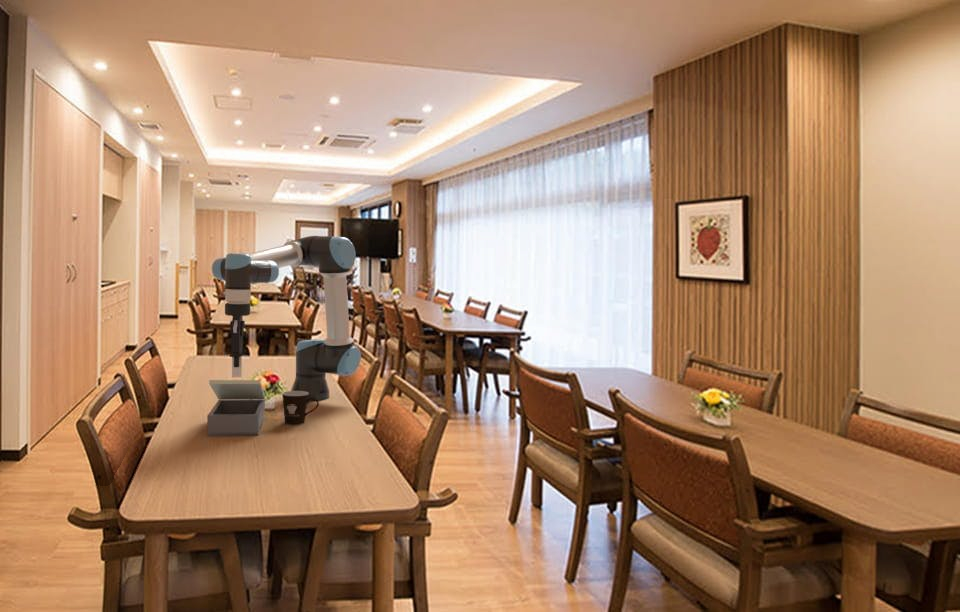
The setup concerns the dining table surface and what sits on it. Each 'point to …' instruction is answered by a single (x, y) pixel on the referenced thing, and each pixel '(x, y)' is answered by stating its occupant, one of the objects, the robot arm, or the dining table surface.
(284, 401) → the coffee mug
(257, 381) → the box lid
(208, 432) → the open storage box
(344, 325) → the robot arm
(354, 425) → the dining table surface
